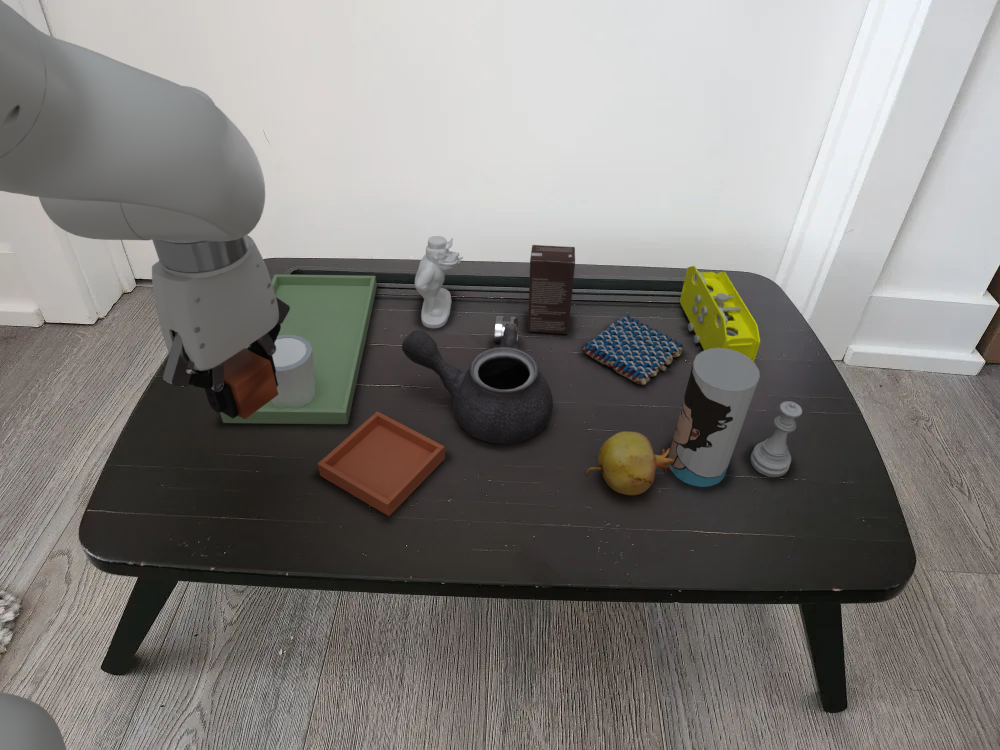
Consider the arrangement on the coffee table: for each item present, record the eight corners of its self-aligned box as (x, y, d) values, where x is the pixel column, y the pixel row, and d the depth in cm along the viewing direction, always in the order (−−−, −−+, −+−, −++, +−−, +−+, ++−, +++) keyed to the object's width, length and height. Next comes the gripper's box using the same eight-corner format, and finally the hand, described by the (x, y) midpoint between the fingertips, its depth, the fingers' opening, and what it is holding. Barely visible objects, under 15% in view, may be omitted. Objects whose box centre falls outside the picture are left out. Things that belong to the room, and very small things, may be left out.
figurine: (458, 329, 103) (457, 257, 95) (413, 327, 103) (407, 255, 95) (464, 292, 110) (463, 222, 102) (421, 290, 110) (416, 220, 102)
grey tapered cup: (309, 416, 89) (299, 373, 84) (255, 409, 89) (243, 366, 85) (327, 379, 94) (320, 337, 89) (277, 373, 94) (266, 330, 90)
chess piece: (789, 456, 86) (816, 395, 79) (786, 482, 83) (813, 421, 76) (752, 445, 87) (775, 384, 81) (747, 471, 84) (770, 410, 78)
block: (244, 419, 72) (234, 386, 69) (214, 402, 74) (203, 368, 71) (278, 394, 75) (270, 361, 72) (248, 378, 76) (239, 345, 73)
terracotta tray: (389, 516, 78) (387, 504, 77) (319, 475, 82) (317, 463, 81) (445, 458, 85) (444, 446, 83) (378, 423, 89) (377, 410, 87)
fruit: (593, 479, 75) (687, 472, 76) (583, 422, 79) (672, 415, 80) (585, 506, 81) (672, 499, 82) (576, 451, 85) (659, 445, 86)
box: (568, 316, 106) (576, 245, 98) (568, 335, 102) (576, 263, 94) (527, 313, 106) (531, 242, 98) (525, 333, 103) (529, 260, 95)
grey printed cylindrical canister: (707, 438, 88) (737, 343, 78) (737, 479, 83) (772, 383, 73) (657, 450, 86) (681, 354, 76) (685, 492, 82) (714, 396, 72)
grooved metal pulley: (496, 336, 102) (497, 308, 98) (517, 338, 102) (519, 309, 98) (493, 359, 98) (494, 330, 95) (515, 361, 98) (516, 332, 95)
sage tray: (347, 424, 88) (345, 412, 87) (223, 423, 88) (218, 410, 87) (376, 287, 110) (375, 275, 109) (276, 285, 110) (274, 274, 109)
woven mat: (686, 354, 100) (689, 342, 99) (641, 391, 94) (643, 379, 93) (624, 321, 105) (626, 310, 104) (579, 354, 99) (580, 343, 98)
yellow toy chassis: (675, 306, 108) (686, 258, 103) (712, 304, 109) (724, 256, 103) (710, 377, 96) (724, 328, 91) (751, 374, 97) (768, 325, 91)
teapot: (556, 370, 97) (562, 310, 90) (548, 455, 85) (554, 394, 79) (417, 357, 98) (413, 297, 92) (392, 439, 87) (384, 377, 80)
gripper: (247, 191, 69) (281, 342, 81) (85, 270, 58) (152, 430, 70) (304, 213, 66) (331, 366, 78) (144, 301, 55) (203, 463, 67)
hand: (246, 395), depth 74 cm, fingers closed on block, 4 cm apart
